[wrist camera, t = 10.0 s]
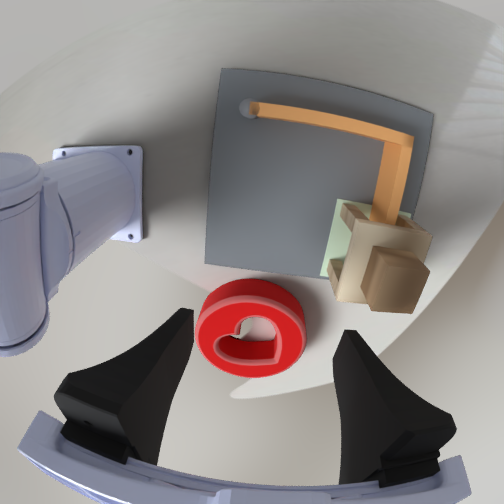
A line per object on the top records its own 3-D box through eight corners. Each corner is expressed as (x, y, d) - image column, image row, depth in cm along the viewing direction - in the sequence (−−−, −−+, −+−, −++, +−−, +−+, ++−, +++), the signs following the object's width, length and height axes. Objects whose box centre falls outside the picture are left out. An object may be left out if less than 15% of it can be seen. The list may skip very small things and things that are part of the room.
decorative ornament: (278, 366, 28) (279, 388, 25) (191, 339, 27) (184, 361, 24) (322, 298, 24) (327, 320, 21) (217, 261, 23) (210, 281, 20)
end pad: (319, 275, 22) (320, 275, 22) (337, 198, 20) (337, 198, 19) (388, 283, 22) (388, 283, 22) (410, 213, 20) (411, 213, 19)
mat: (206, 260, 23) (204, 263, 22) (222, 70, 17) (221, 68, 16) (388, 283, 23) (390, 286, 22) (429, 114, 17) (433, 114, 16)
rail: (229, 250, 22) (223, 269, 19) (244, 101, 17) (240, 97, 14) (366, 268, 22) (377, 288, 19) (398, 132, 17) (417, 134, 14)
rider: (326, 270, 22) (345, 327, 16) (342, 203, 20) (374, 239, 13) (387, 277, 22) (419, 330, 16) (406, 215, 20) (453, 254, 13)
